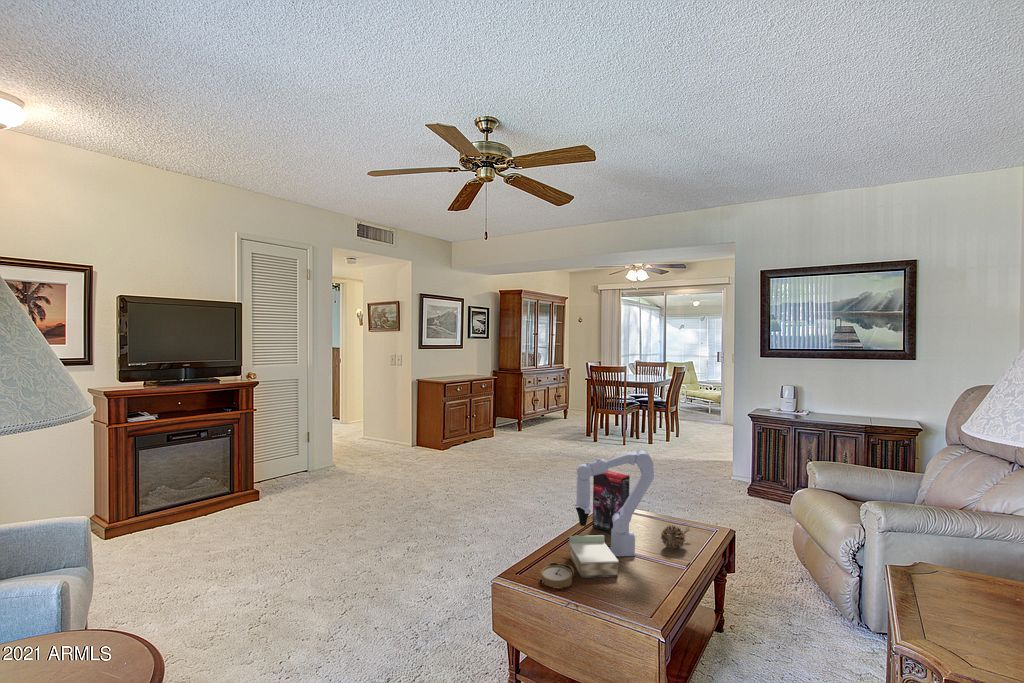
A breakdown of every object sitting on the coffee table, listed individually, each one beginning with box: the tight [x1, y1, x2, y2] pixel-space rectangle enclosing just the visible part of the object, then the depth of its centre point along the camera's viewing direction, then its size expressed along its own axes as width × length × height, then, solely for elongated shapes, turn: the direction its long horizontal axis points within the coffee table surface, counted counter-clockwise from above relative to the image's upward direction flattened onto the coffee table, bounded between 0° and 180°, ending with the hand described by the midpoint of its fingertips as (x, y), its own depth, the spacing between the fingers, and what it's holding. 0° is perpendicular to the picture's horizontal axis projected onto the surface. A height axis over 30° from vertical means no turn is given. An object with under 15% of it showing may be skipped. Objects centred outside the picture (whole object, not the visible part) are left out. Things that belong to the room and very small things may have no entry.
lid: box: [568, 534, 620, 564], centre depth 199 cm, size 14×20×6 cm
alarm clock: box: [540, 561, 575, 588], centre depth 187 cm, size 11×5×15 cm
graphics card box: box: [591, 470, 630, 534], centre depth 239 cm, size 17×7×27 cm, turn 43°
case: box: [569, 547, 619, 579], centre depth 199 cm, size 14×18×5 cm
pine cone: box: [660, 524, 691, 550], centre depth 223 cm, size 22×10×10 cm, turn 140°
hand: (582, 525), depth 216 cm, fingers closed
